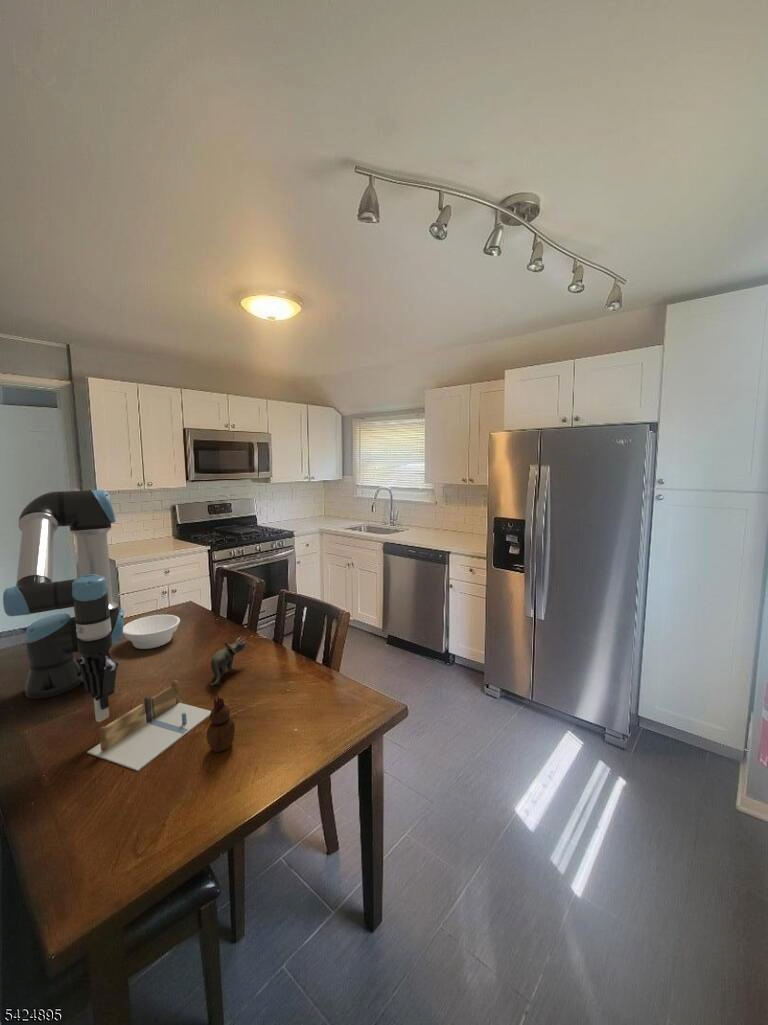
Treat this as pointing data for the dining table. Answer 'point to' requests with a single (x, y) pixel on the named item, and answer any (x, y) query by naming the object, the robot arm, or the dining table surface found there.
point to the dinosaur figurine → (225, 659)
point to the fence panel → (121, 727)
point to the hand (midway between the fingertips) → (102, 718)
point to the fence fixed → (161, 701)
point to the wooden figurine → (220, 727)
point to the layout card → (153, 737)
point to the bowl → (151, 630)
